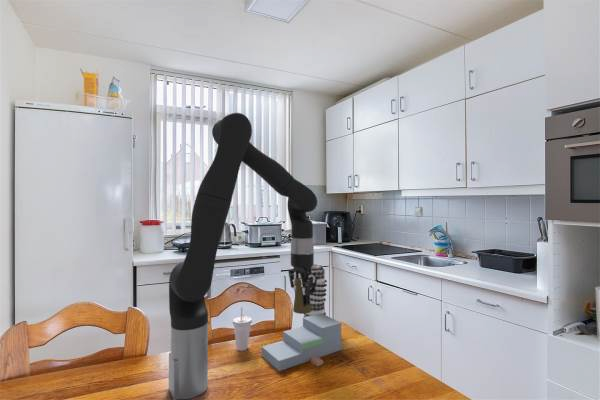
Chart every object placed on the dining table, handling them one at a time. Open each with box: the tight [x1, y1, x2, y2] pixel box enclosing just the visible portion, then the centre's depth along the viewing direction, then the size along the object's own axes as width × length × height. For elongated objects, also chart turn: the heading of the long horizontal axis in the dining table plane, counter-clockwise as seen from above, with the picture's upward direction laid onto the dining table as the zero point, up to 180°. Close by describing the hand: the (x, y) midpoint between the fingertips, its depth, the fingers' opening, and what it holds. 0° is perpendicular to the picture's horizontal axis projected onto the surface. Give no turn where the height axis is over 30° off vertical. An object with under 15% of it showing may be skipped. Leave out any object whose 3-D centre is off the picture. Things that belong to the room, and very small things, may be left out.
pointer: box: [310, 357, 324, 367], centre depth 97 cm, size 2×4×1 cm, turn 34°
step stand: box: [261, 313, 342, 372], centre depth 103 cm, size 24×11×9 cm, turn 124°
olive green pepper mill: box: [292, 277, 311, 315], centre depth 103 cm, size 6×6×11 cm
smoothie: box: [232, 306, 253, 352], centre depth 106 cm, size 6×6×14 cm
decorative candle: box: [303, 263, 328, 318], centre depth 121 cm, size 9×9×25 cm
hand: (302, 303), depth 103 cm, fingers closed on olive green pepper mill, 4 cm apart
